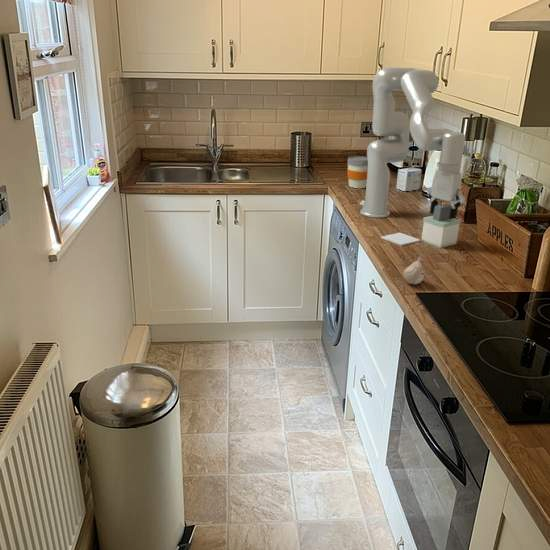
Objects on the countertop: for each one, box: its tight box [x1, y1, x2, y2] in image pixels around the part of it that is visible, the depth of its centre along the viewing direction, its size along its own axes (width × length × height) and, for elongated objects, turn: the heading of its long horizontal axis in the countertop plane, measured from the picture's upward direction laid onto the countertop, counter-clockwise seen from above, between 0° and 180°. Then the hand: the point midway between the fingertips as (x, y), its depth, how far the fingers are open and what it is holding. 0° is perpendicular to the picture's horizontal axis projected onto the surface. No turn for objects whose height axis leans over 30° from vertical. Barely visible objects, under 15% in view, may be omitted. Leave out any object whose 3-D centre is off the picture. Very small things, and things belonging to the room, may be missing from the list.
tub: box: [420, 221, 460, 249], centre depth 207 cm, size 9×9×8 cm
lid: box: [422, 203, 461, 227], centre depth 205 cm, size 9×9×7 cm
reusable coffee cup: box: [346, 155, 368, 188], centre depth 286 cm, size 13×13×15 cm
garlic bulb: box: [402, 255, 425, 285], centre depth 170 cm, size 7×6×8 cm
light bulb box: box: [395, 167, 422, 192], centre depth 284 cm, size 11×7×11 cm, turn 124°
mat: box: [380, 232, 421, 246], centre depth 211 cm, size 10×10×1 cm
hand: (442, 215), depth 205 cm, fingers open, 8 cm apart
